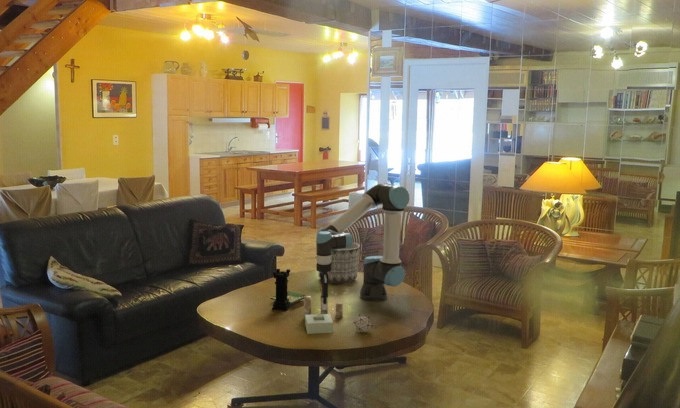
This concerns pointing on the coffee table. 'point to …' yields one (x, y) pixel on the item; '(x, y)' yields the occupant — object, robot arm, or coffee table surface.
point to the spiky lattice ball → (362, 324)
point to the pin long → (321, 304)
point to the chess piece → (281, 290)
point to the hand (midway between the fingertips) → (324, 308)
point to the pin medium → (307, 305)
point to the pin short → (339, 310)
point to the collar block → (318, 323)
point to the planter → (344, 264)
